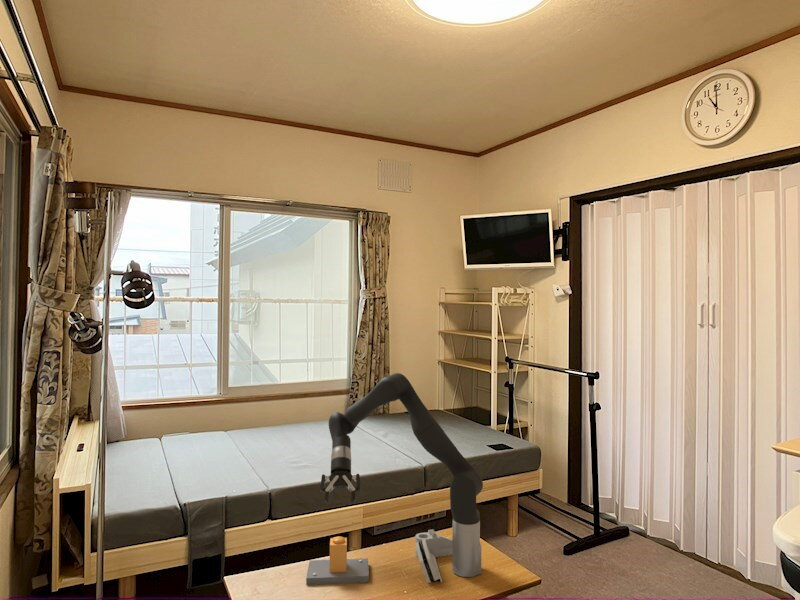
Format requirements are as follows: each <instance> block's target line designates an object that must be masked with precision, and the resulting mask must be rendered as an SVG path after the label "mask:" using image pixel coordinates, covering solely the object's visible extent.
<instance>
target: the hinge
mask: <svg viewBox="0 0 800 600" xmlns="http://www.w3.org/2000/svg"><path fill="white" fill-rule="evenodd" d="M421 544H422V546H421ZM415 545H416V550H417V553H418V557H419V558H418V557H417V558H418V560H419V564H420V566H421V570H422V573H423V575H424V578H425V581H426V583H427V584H431V583H432V581H434V582H435V581H437V580H440V583H443V580H442V576H441V573H440V570H439V566H438V562H437V559H436V557H435V556H434V554H432V553H430V551H429V548H428V546H427V543H426V540H422V541H421V543H420V542H417V543H414V546H415ZM422 548H423V549H422Z"/></svg>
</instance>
